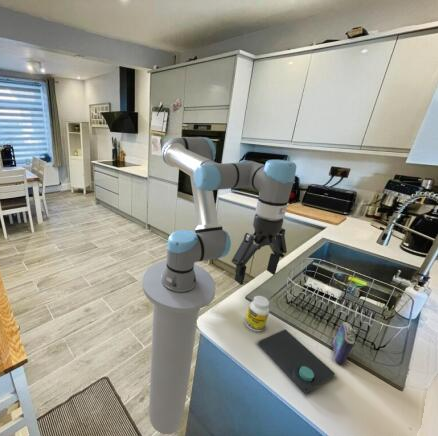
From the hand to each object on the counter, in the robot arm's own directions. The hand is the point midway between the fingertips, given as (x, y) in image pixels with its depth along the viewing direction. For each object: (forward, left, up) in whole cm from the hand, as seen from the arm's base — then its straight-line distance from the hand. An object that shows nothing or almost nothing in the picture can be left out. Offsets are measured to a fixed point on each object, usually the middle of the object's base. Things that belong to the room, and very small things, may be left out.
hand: (255, 277), depth 77 cm
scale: (+17, +3, -19) cm, 26 cm away
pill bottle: (+3, +2, -20) cm, 20 cm away
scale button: (+22, 0, -17) cm, 28 cm away
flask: (+21, +18, -20) cm, 34 cm away
